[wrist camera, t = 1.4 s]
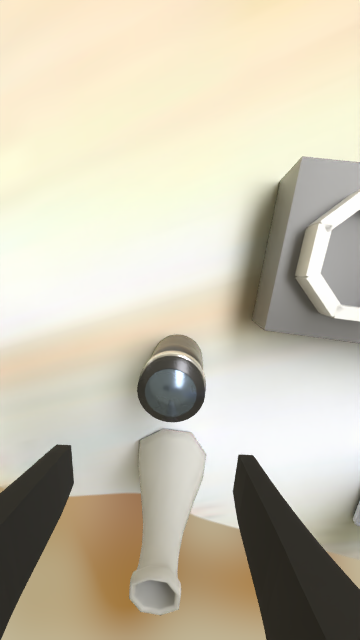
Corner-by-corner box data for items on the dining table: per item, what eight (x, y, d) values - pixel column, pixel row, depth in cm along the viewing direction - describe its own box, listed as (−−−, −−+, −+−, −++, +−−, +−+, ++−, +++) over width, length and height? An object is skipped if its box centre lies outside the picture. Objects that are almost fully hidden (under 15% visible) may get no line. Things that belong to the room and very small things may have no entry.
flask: (147, 488, 24) (113, 641, 14) (129, 432, 22) (78, 556, 12) (212, 480, 23) (226, 636, 13) (198, 421, 21) (202, 545, 12)
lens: (206, 337, 19) (211, 365, 13) (199, 384, 20) (201, 429, 15) (155, 330, 20) (138, 355, 14) (150, 377, 21) (132, 419, 15)
